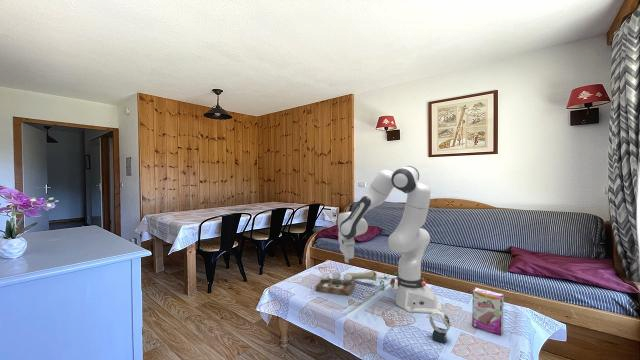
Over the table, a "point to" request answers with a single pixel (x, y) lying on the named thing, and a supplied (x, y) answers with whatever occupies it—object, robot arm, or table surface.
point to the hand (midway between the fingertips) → (346, 262)
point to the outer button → (325, 277)
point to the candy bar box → (488, 311)
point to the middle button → (336, 275)
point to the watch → (440, 333)
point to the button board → (336, 286)
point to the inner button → (347, 277)
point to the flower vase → (372, 277)
